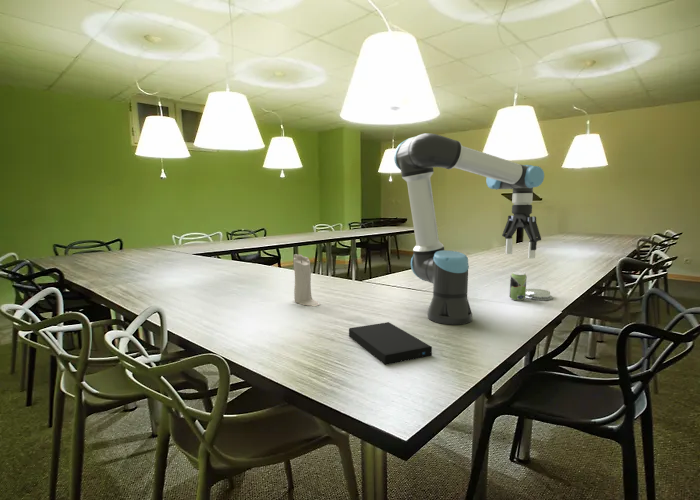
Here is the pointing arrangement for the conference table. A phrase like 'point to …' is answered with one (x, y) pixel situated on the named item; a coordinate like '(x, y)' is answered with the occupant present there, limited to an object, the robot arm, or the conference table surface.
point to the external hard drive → (389, 343)
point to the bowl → (538, 294)
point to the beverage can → (518, 285)
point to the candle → (303, 281)
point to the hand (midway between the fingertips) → (519, 256)
